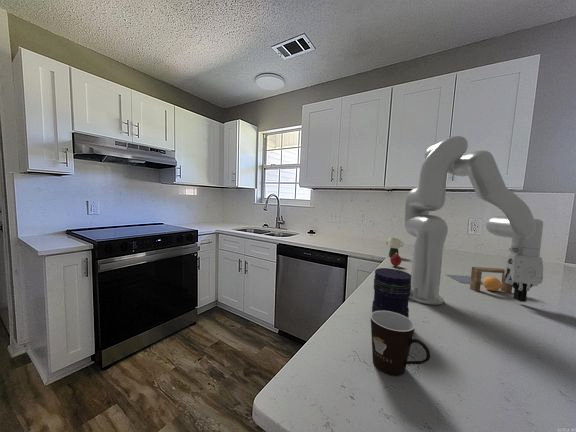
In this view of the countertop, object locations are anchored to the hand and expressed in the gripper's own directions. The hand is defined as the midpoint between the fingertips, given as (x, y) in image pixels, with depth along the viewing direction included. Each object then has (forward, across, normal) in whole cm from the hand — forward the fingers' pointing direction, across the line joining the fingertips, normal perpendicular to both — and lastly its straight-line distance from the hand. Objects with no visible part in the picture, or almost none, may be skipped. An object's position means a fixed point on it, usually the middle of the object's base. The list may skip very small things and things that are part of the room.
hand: (519, 300), depth 87 cm
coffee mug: (+2, -63, -41) cm, 75 cm away
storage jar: (+2, -56, -21) cm, 60 cm away
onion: (+2, -27, +45) cm, 53 cm away
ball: (-1, +1, +14) cm, 14 cm away
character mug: (+2, -18, +70) cm, 72 cm away
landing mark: (+2, 0, +28) cm, 28 cm away
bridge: (+2, 0, +13) cm, 13 cm away
